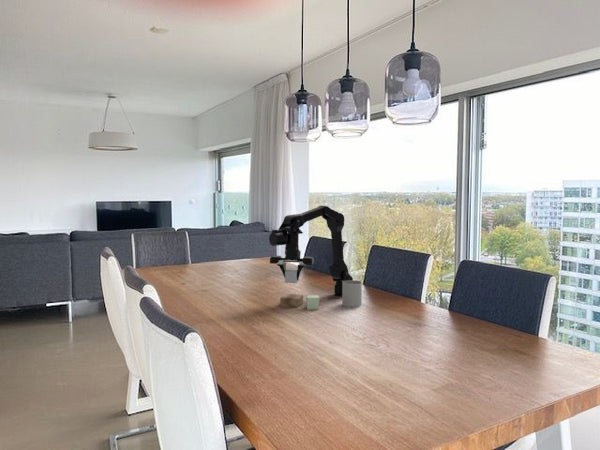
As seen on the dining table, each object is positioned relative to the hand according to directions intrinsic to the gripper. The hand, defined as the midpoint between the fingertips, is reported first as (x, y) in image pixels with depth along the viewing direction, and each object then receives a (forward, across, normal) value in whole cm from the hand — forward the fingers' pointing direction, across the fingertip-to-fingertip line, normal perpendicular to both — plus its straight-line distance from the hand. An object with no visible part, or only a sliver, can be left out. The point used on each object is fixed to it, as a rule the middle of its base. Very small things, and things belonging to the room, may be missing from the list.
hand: (291, 279), depth 206 cm
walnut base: (+11, 0, 0) cm, 11 cm away
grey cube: (+1, 0, 0) cm, 1 cm away
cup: (+11, -26, -5) cm, 29 cm away
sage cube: (+11, -10, +4) cm, 15 cm away
